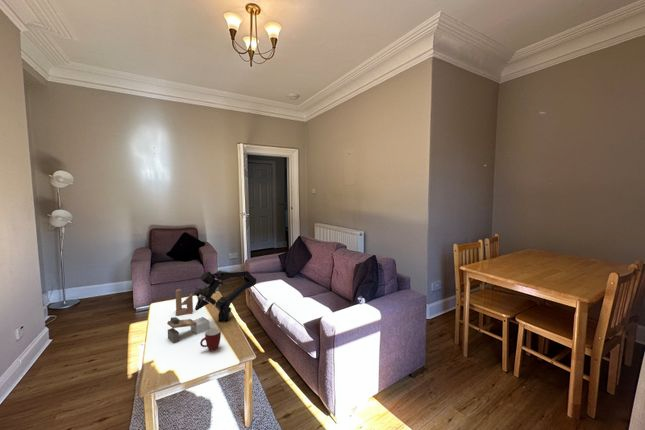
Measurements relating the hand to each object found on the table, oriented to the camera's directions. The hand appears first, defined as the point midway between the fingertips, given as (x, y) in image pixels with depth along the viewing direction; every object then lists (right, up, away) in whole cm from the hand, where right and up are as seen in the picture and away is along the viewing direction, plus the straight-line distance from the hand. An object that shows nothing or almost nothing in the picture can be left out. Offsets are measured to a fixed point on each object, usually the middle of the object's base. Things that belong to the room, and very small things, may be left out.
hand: (195, 310), depth 168 cm
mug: (+17, -16, -19) cm, 30 cm away
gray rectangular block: (-3, -14, -2) cm, 14 cm away
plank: (-5, -7, -6) cm, 11 cm away
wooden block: (-20, -12, +25) cm, 34 cm away
